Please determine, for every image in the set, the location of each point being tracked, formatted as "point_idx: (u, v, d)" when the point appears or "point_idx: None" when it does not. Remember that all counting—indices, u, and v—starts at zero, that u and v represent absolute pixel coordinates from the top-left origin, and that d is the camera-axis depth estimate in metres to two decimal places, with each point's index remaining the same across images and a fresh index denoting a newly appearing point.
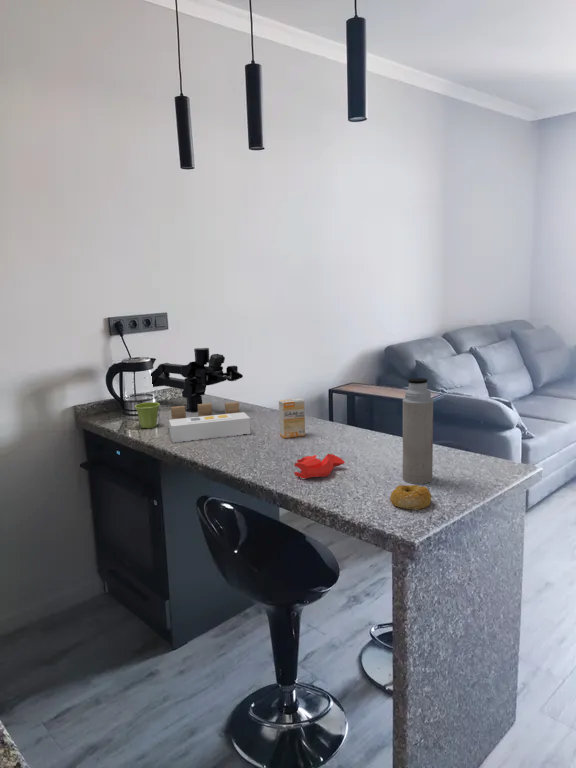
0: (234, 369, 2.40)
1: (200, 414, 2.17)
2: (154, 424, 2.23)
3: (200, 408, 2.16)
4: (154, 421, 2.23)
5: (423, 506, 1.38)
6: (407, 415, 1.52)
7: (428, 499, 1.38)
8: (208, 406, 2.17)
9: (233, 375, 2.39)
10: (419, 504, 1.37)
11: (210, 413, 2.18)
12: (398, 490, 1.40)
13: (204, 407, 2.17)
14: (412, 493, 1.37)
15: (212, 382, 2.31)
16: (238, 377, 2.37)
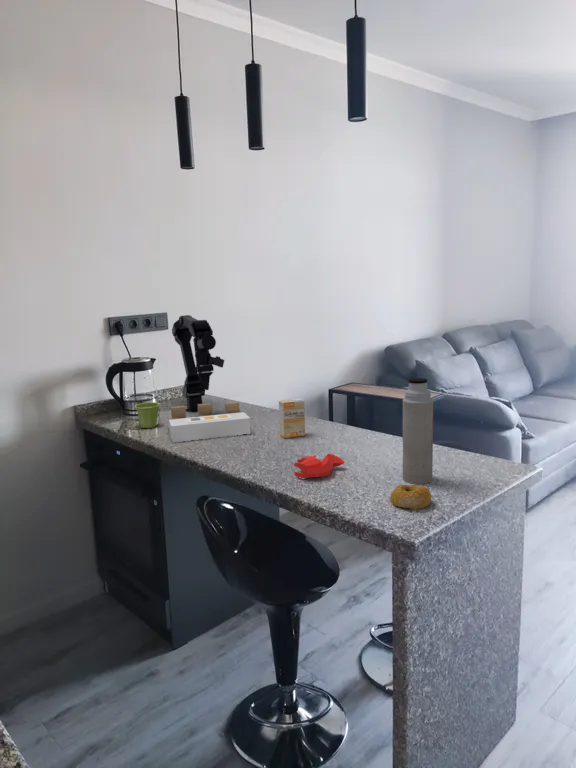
0: None
1: (200, 414, 2.17)
2: (154, 424, 2.23)
3: (200, 408, 2.16)
4: (154, 421, 2.23)
5: (423, 506, 1.38)
6: (407, 415, 1.52)
7: (428, 499, 1.38)
8: (208, 406, 2.17)
9: None
10: (419, 504, 1.37)
11: (210, 413, 2.18)
12: (398, 490, 1.41)
13: (204, 407, 2.17)
14: (412, 493, 1.38)
15: (201, 375, 2.25)
16: (203, 384, 2.37)
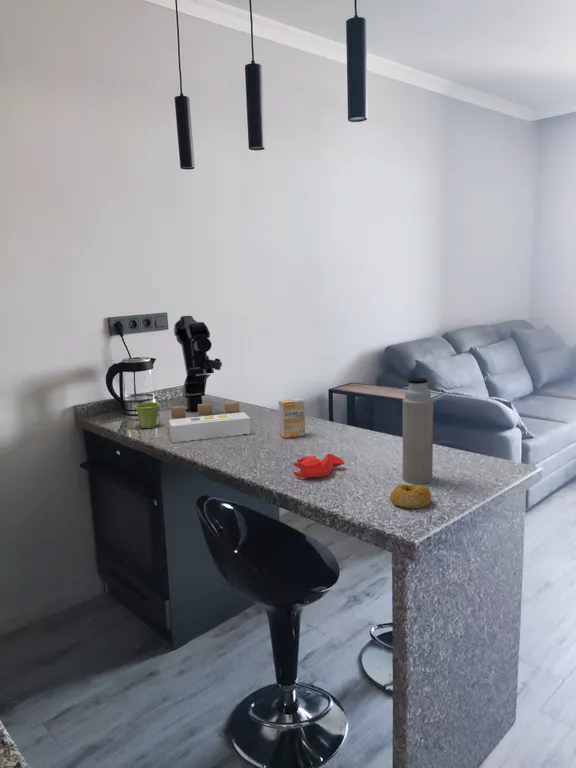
0: (207, 377, 2.33)
1: (200, 414, 2.17)
2: (154, 424, 2.23)
3: (200, 408, 2.16)
4: (154, 421, 2.23)
5: (423, 505, 1.38)
6: (407, 415, 1.52)
7: (428, 498, 1.39)
8: (208, 406, 2.17)
9: None
10: (419, 503, 1.37)
11: (210, 413, 2.18)
12: (398, 489, 1.41)
13: (204, 407, 2.17)
14: (412, 492, 1.38)
15: (195, 378, 2.30)
16: None
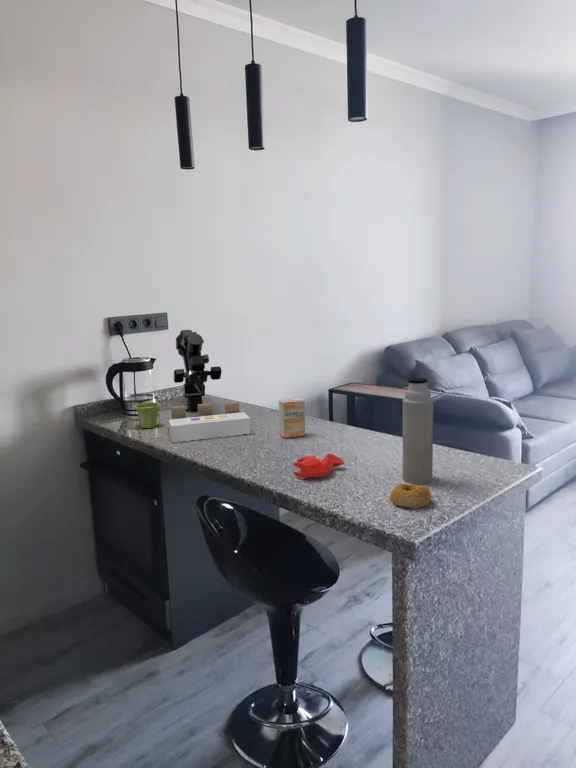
0: (202, 376, 2.28)
1: (200, 414, 2.17)
2: (154, 424, 2.23)
3: (200, 408, 2.16)
4: (154, 421, 2.23)
5: (423, 505, 1.39)
6: (407, 415, 1.52)
7: (428, 498, 1.39)
8: (208, 406, 2.17)
9: None
10: (419, 503, 1.37)
11: (210, 413, 2.18)
12: (398, 489, 1.41)
13: (204, 407, 2.17)
14: (412, 492, 1.38)
15: (192, 382, 2.30)
16: None
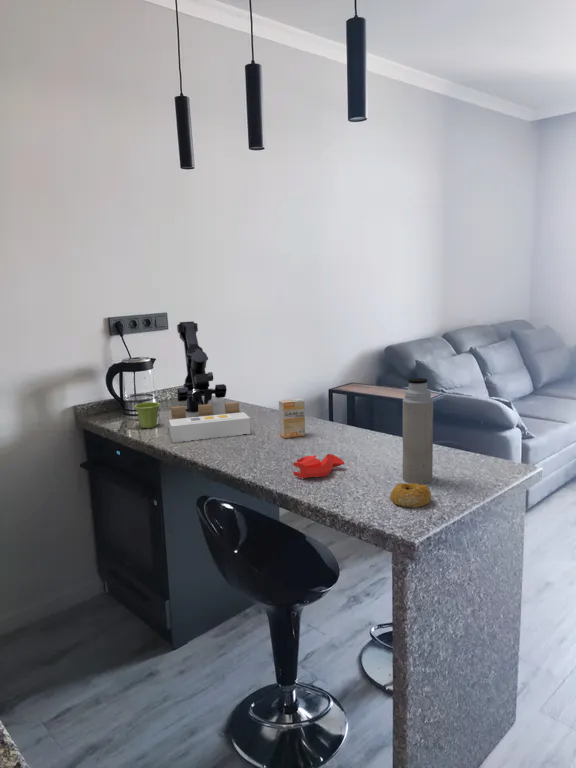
0: (207, 394, 2.20)
1: (201, 415, 2.15)
2: (154, 424, 2.23)
3: (201, 409, 2.15)
4: (154, 421, 2.23)
5: (423, 504, 1.39)
6: (407, 415, 1.52)
7: (428, 497, 1.40)
8: (209, 407, 2.16)
9: (204, 399, 2.22)
10: (419, 502, 1.38)
11: (211, 414, 2.16)
12: (398, 488, 1.42)
13: (205, 408, 2.15)
14: (412, 491, 1.39)
15: (196, 401, 2.22)
16: None
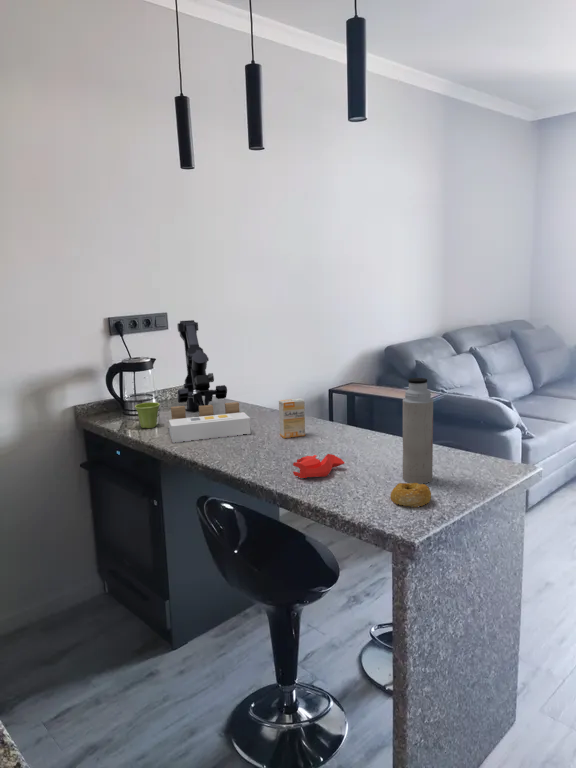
0: (207, 396, 2.19)
1: None
2: (154, 424, 2.23)
3: (201, 410, 2.13)
4: (154, 421, 2.23)
5: (423, 503, 1.39)
6: (407, 415, 1.52)
7: (428, 496, 1.40)
8: (209, 408, 2.14)
9: None
10: (420, 502, 1.38)
11: None
12: (398, 488, 1.42)
13: (205, 409, 2.14)
14: (412, 491, 1.39)
15: (197, 402, 2.21)
16: None
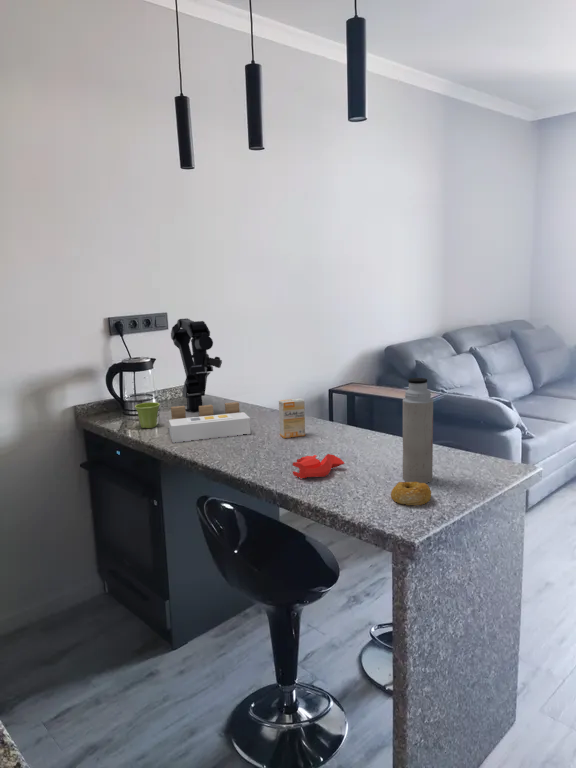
0: None
1: None
2: (154, 424, 2.23)
3: (201, 410, 2.13)
4: (154, 421, 2.23)
5: (423, 502, 1.40)
6: (407, 415, 1.52)
7: (428, 495, 1.41)
8: (209, 408, 2.14)
9: None
10: (420, 500, 1.39)
11: None
12: (399, 487, 1.43)
13: (205, 409, 2.14)
14: (413, 489, 1.40)
15: (196, 376, 2.33)
16: None
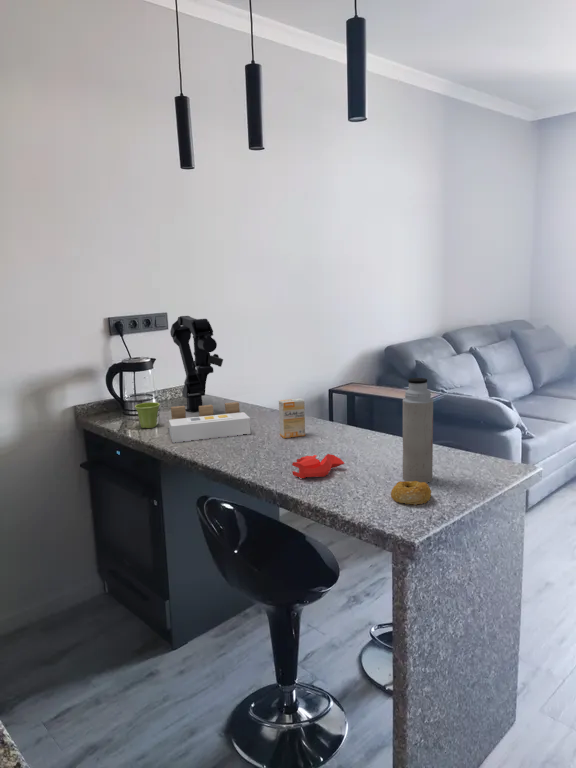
0: None
1: None
2: (154, 424, 2.23)
3: (201, 410, 2.13)
4: (154, 421, 2.23)
5: (424, 501, 1.41)
6: (407, 415, 1.52)
7: (428, 494, 1.41)
8: (209, 408, 2.14)
9: None
10: (420, 500, 1.40)
11: None
12: (399, 486, 1.43)
13: (205, 409, 2.14)
14: (413, 489, 1.40)
15: (198, 374, 2.33)
16: None
